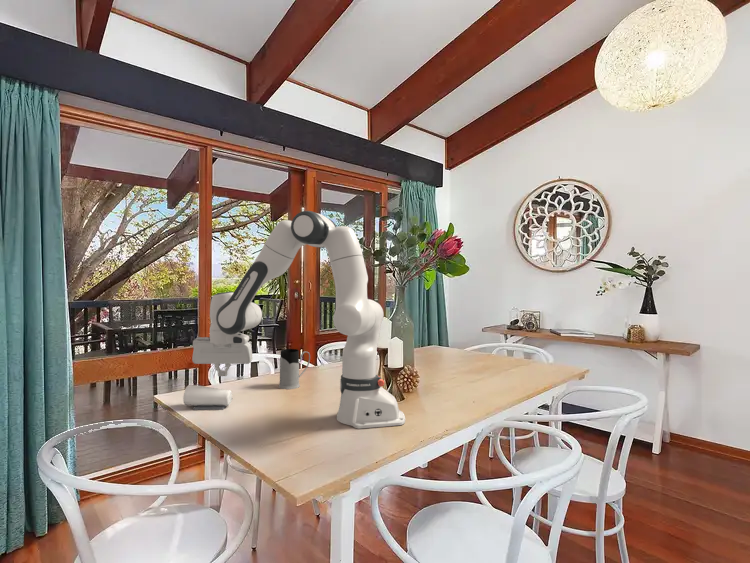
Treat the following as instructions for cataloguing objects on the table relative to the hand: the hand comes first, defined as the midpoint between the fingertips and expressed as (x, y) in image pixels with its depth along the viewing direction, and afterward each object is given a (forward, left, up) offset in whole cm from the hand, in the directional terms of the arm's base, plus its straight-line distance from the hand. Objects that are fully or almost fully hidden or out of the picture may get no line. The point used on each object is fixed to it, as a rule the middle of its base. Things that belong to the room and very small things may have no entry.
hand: (222, 375), depth 151 cm
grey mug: (-23, -25, -10) cm, 35 cm away
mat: (+3, 0, -10) cm, 11 cm away
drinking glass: (-4, +3, -7) cm, 9 cm away
